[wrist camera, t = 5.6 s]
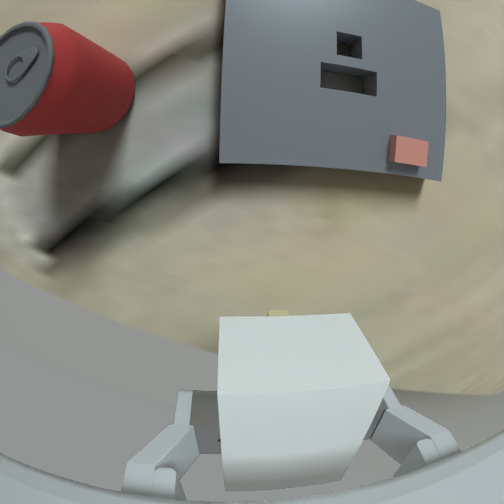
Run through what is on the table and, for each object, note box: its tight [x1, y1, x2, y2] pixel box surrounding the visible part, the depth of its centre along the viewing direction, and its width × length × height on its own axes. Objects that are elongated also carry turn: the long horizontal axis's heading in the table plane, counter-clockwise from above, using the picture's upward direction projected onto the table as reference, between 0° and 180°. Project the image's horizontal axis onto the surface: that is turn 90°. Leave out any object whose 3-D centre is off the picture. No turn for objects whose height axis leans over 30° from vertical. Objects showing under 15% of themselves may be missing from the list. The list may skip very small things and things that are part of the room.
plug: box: [217, 310, 390, 491], centre depth 11 cm, size 4×8×6 cm, turn 178°
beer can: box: [0, 22, 135, 136], centre depth 14 cm, size 7×7×12 cm
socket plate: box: [219, 0, 446, 181], centre depth 19 cm, size 18×16×4 cm
